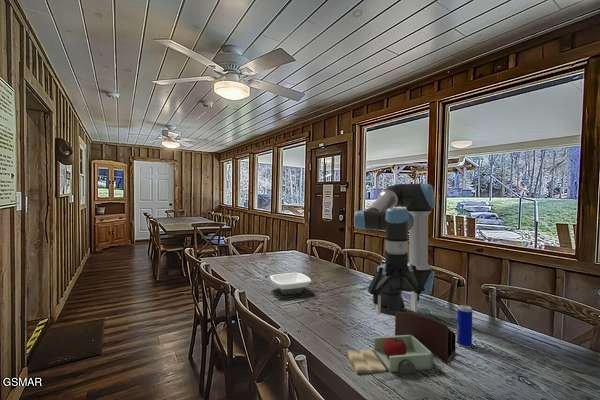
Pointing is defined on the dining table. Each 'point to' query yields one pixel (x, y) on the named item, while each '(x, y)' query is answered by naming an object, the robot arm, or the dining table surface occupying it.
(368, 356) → the panel
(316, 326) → the dining table surface
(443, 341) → the letter holder
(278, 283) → the bowl
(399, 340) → the tomato
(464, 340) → the beverage can
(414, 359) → the box
